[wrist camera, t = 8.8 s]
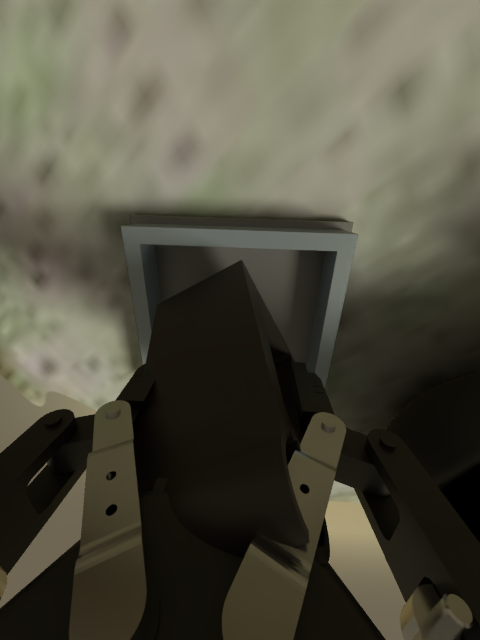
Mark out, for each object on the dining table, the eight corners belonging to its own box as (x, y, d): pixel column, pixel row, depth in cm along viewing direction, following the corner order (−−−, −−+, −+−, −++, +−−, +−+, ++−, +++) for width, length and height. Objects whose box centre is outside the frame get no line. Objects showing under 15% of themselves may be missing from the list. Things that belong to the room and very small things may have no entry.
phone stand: (158, 301, 16) (-33, 504, 5) (242, 258, 15) (215, 412, 4) (227, 400, 19) (195, 654, 8) (300, 372, 18) (376, 631, 7)
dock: (349, 221, 17) (369, 225, 14) (315, 392, 24) (324, 420, 21) (134, 214, 18) (111, 216, 15) (157, 384, 24) (144, 409, 21)
